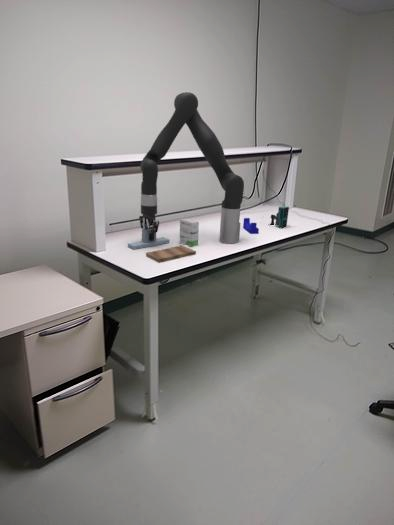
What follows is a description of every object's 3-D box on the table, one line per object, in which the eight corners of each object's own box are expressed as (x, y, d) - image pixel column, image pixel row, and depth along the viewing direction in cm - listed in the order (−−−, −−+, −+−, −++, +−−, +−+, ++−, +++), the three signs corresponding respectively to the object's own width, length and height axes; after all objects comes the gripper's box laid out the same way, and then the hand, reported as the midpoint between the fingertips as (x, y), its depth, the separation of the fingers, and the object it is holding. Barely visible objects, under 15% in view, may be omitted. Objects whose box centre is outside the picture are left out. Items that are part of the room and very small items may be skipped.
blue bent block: (258, 234, 218) (259, 223, 216) (250, 234, 217) (251, 223, 215) (250, 228, 229) (251, 217, 227) (243, 228, 228) (243, 218, 225)
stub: (163, 239, 198) (163, 225, 196) (169, 242, 195) (169, 227, 192) (127, 246, 186) (127, 230, 184) (133, 249, 183) (133, 233, 180)
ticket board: (182, 248, 187) (182, 245, 187) (195, 254, 180) (196, 250, 180) (146, 256, 175) (146, 252, 175) (159, 262, 168) (159, 258, 168)
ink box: (198, 245, 194) (199, 221, 190) (191, 247, 190) (192, 222, 186) (186, 241, 199) (186, 217, 195) (178, 242, 196) (179, 219, 192)
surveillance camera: (274, 203, 236) (289, 206, 229) (272, 223, 240) (286, 227, 234) (269, 204, 232) (284, 208, 226) (267, 225, 236) (281, 228, 230)
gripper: (164, 205, 181) (164, 242, 187) (147, 200, 191) (147, 234, 197) (150, 207, 177) (150, 244, 182) (133, 201, 187) (134, 237, 193)
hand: (149, 239), depth 190 cm, fingers open, 4 cm apart
